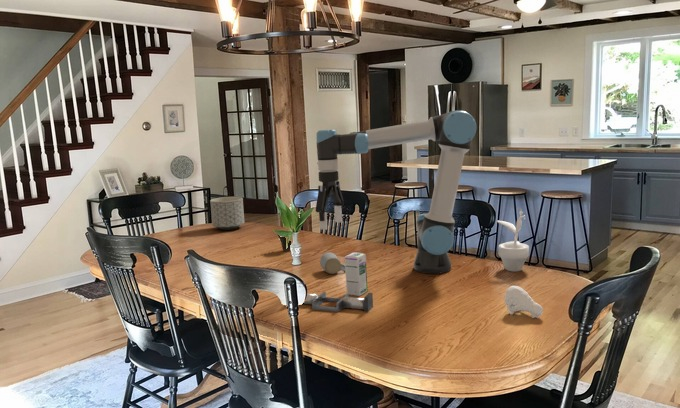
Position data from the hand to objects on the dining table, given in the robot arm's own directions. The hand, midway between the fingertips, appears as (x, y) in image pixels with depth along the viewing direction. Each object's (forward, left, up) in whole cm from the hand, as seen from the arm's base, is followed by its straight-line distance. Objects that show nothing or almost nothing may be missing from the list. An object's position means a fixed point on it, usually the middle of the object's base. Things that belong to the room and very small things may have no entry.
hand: (331, 225), depth 207 cm
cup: (+42, -40, -23) cm, 62 cm away
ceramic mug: (+5, -13, -23) cm, 27 cm away
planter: (+103, -81, -23) cm, 133 cm away
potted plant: (-64, -31, -23) cm, 75 cm away
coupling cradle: (-9, +26, -22) cm, 35 cm away
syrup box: (-13, +11, -23) cm, 28 cm away
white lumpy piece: (-72, +17, -23) cm, 77 cm away
